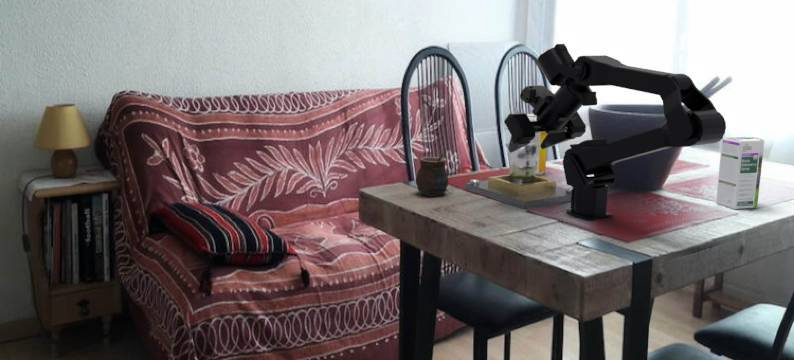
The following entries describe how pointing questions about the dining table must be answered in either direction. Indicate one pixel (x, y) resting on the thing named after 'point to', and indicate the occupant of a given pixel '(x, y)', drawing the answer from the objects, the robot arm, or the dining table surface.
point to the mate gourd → (432, 176)
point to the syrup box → (740, 172)
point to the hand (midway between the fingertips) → (525, 149)
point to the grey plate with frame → (521, 191)
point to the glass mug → (523, 164)
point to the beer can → (539, 149)
